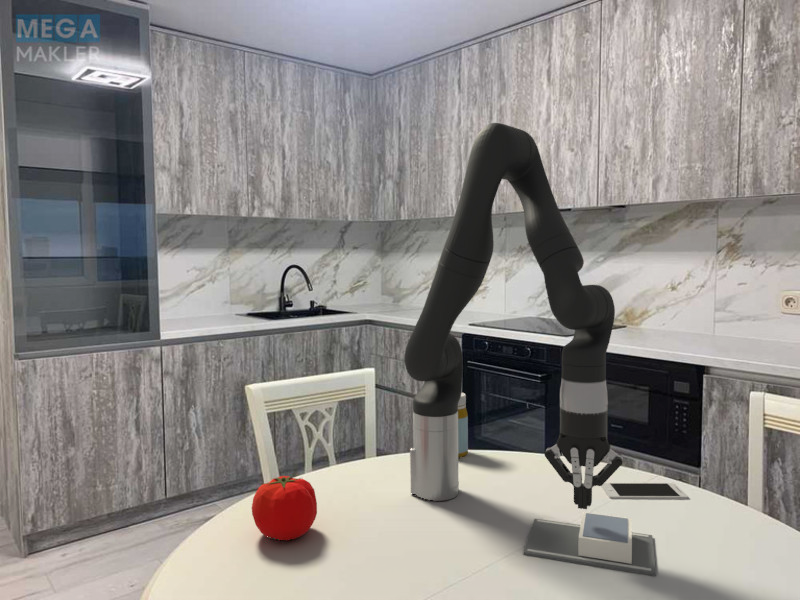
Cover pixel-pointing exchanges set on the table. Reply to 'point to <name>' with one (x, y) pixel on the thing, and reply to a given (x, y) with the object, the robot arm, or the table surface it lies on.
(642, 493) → the smartphone
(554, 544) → the mat
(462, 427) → the bottle
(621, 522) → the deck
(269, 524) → the tomato
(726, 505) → the table surface
